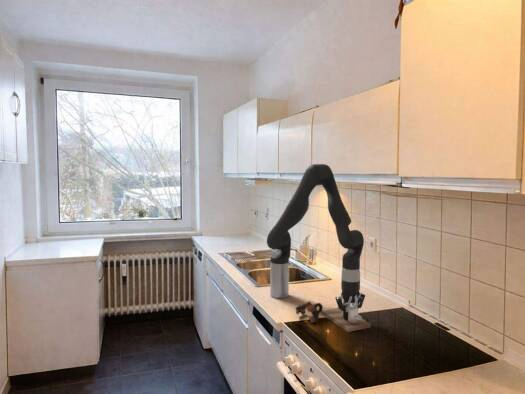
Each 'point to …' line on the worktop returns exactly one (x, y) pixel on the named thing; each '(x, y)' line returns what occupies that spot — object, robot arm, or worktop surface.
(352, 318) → the plug
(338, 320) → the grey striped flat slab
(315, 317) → the brown irregular piece
